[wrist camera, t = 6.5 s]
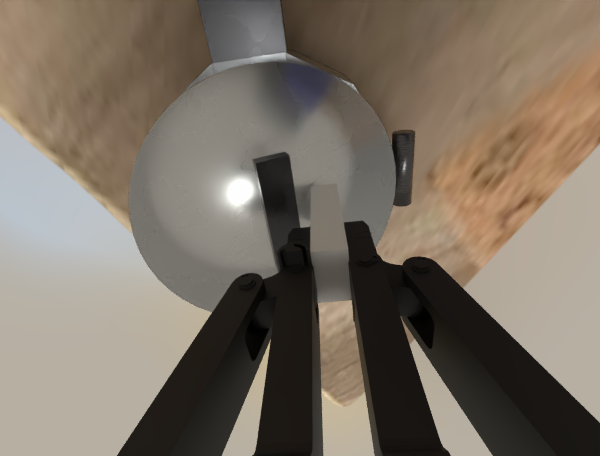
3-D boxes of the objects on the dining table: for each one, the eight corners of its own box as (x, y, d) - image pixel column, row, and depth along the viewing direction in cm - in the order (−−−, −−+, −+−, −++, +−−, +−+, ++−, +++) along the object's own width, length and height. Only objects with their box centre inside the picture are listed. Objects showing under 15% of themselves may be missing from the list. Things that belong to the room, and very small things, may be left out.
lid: (69, 93, 13) (57, 96, 12) (390, 40, 16) (409, 38, 15) (186, 339, 21) (186, 358, 20) (387, 270, 24) (399, 281, 23)
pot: (149, 22, 23) (90, 15, 17) (395, -20, 21) (428, -44, 15) (225, 263, 34) (207, 310, 28) (390, 248, 32) (408, 295, 26)
